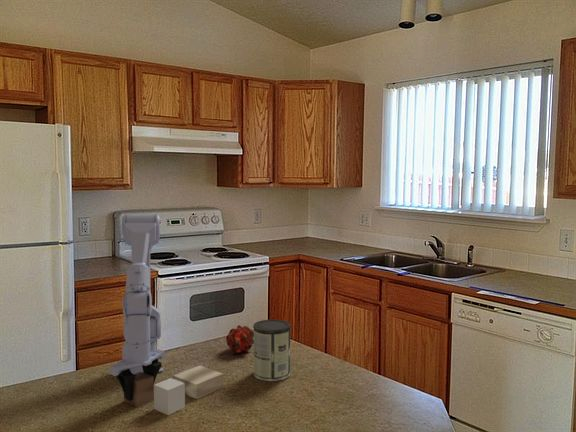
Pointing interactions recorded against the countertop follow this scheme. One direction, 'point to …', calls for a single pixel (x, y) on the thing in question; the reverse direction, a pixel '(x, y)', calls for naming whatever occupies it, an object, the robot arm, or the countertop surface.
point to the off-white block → (169, 396)
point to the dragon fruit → (240, 339)
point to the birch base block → (200, 381)
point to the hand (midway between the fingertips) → (138, 395)
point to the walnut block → (142, 389)
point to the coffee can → (272, 350)
